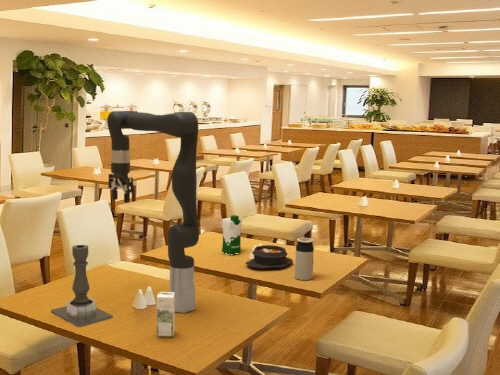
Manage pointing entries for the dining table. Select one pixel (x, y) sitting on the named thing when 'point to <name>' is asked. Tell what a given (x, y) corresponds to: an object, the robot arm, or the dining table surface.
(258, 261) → the casserole
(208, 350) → the dining table surface
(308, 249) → the travel mug
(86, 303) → the candle holder
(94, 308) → the steel collar
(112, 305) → the dining table surface
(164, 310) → the syrup box
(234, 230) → the milk carton
